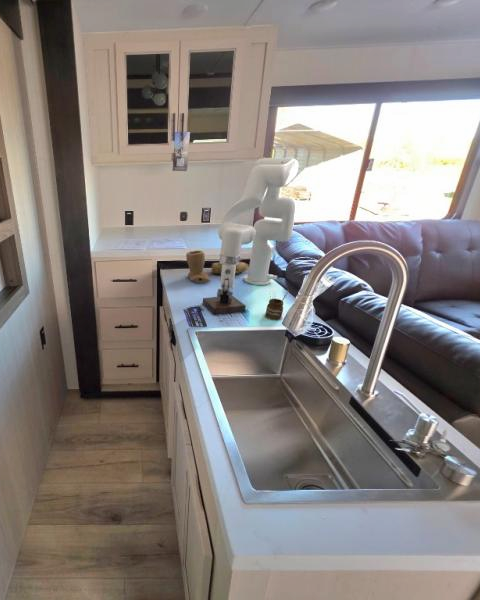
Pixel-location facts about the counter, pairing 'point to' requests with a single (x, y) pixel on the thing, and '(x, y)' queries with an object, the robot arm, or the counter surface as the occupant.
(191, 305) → the counter surface
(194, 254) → the tan fabric boot shape
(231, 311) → the brown flat wooden block
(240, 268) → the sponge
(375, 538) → the counter surface
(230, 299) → the nozzle knob
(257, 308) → the counter surface
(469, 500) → the counter surface
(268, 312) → the utensil holder
